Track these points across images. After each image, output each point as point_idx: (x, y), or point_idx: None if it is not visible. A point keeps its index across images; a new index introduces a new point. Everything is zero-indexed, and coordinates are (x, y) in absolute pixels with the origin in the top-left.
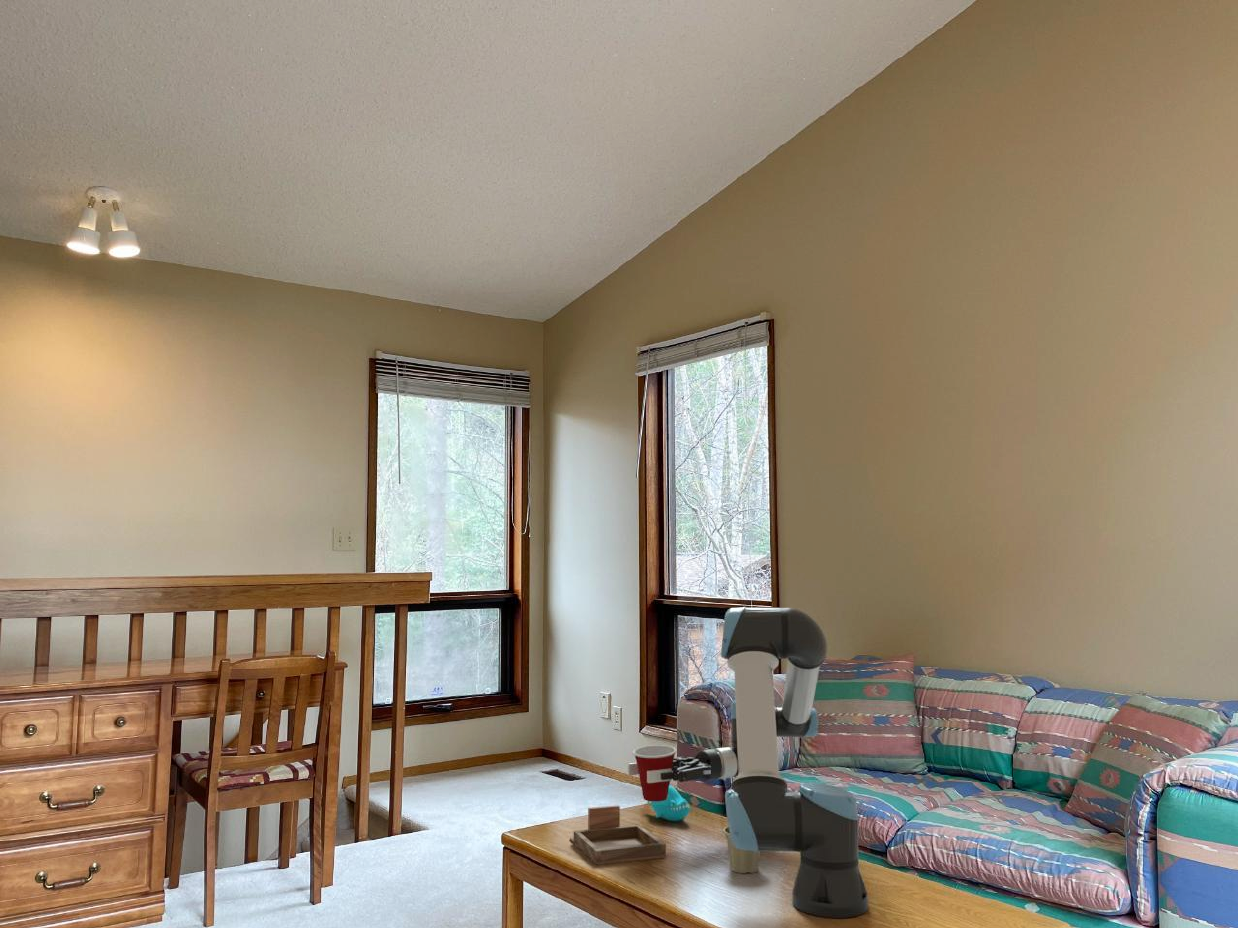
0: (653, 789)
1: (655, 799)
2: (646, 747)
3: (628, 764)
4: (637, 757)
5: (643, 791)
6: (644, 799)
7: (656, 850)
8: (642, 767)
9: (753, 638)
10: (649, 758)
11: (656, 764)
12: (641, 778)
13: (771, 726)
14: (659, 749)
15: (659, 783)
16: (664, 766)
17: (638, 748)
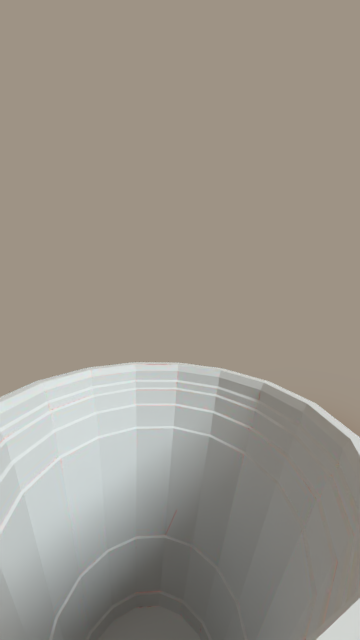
0: (91, 574)
1: (90, 636)
2: (342, 448)
3: None
4: (164, 381)
5: (160, 563)
6: (164, 607)
7: None
8: (140, 436)
9: None
10: (79, 387)
11: (48, 444)
12: (162, 496)
13: None
14: (343, 589)
15: (55, 579)
16: (8, 513)
17: (293, 399)
